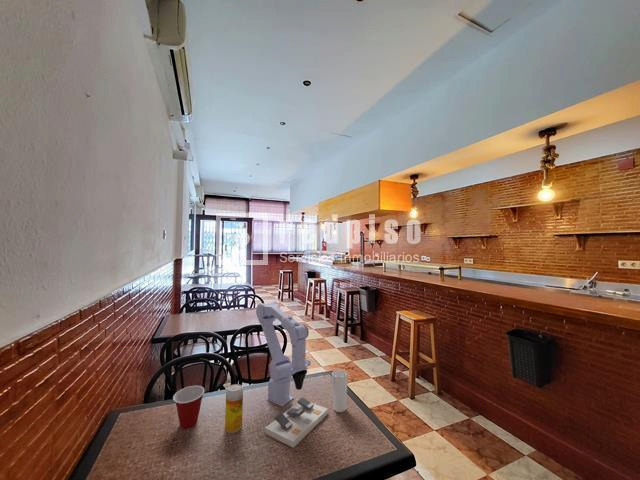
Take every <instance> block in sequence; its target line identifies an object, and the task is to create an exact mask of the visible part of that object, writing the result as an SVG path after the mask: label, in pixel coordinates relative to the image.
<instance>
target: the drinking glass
mask: <svg viewBox="0 0 640 480" xmlns="http://www.w3.org/2000/svg"><path fill="white" fill-rule="evenodd" d="M348 376H349V375H348V372H347V371H346V370H344V369H343V370H342V369H335V370H333V371H332V372H331V390H332V392H331V393H332V408H333V411H335V412H337V413H344V412H345V411H346V408H347V395H348V383H349V381H348Z"/></svg>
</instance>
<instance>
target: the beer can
mask: <svg viewBox="0 0 640 480" xmlns="http://www.w3.org/2000/svg"><path fill="white" fill-rule="evenodd" d="M243 388H244V387H243V386H242V385H241V384H239V383H235V384H231V385H229V386H227V389H226V391H225V410H224V411H225V415H224V417H225V418H224V430H225V431H226V432H227V433H228V434H235V433H237V432H240V431H241V428H242V427H243V412H244V411H243V408H244V407H243V406H244V405H243V404H244V402H243V401H244V389H243Z"/></svg>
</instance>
